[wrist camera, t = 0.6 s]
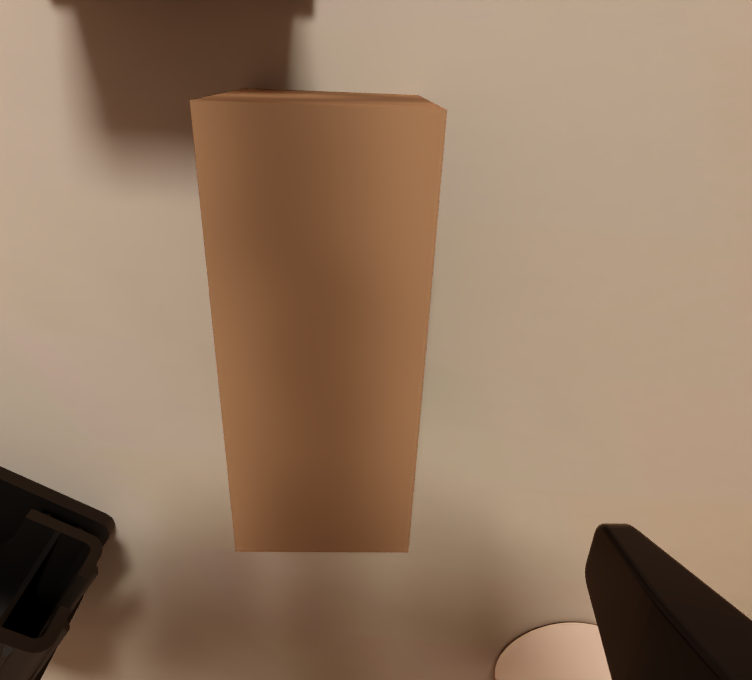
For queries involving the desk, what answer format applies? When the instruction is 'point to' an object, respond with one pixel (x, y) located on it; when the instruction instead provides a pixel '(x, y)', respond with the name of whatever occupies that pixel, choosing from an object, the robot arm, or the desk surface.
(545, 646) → the cup
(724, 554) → the desk surface
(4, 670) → the end cap
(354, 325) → the brown rectangular block
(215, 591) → the desk surface
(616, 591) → the robot arm
